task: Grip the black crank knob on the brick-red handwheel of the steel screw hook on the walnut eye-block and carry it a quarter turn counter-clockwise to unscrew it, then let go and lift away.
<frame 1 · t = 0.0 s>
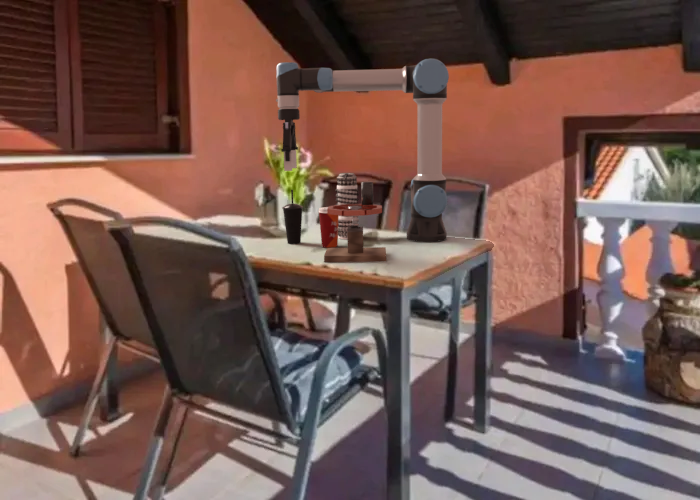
hand: (290, 169, 238), 28 cm above the table, tool pointing down, fingers open, 13 cm apart
drinking cup: (293, 243, 252), on the table
paper cup: (329, 246, 244), on the table
decorative candle: (348, 238, 261), on the table
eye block: (355, 257, 222), on the table
handwheel: (354, 206, 219), point 17 cm above the table, hinge at 0.0°
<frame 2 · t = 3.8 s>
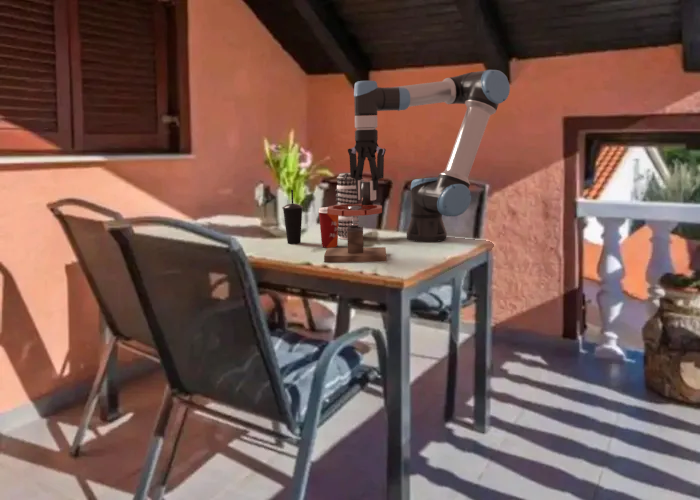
hand: (367, 199, 226), 18 cm above the table, tool pointing down, fingers closed on handwheel, 4 cm apart
handwheel: (354, 206, 219), point 17 cm above the table, hinge at 0.0°, touching gripper
everything else where it was.
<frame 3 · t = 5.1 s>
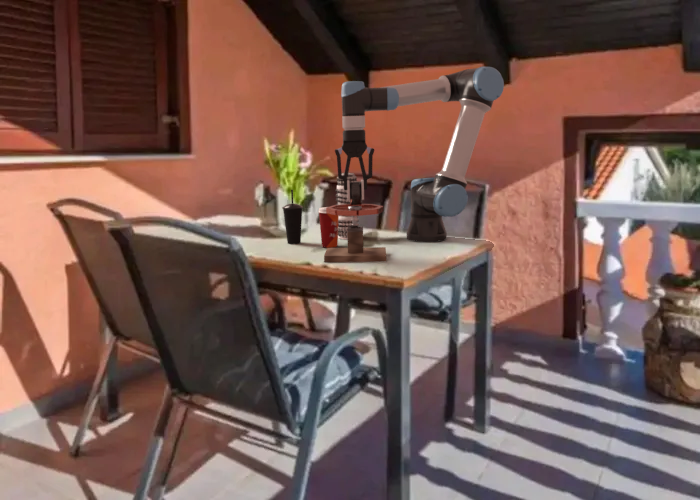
hand: (355, 199, 227), 18 cm above the table, tool pointing down, fingers closed on handwheel, 4 cm apart
handwheel: (354, 206, 219), point 17 cm above the table, hinge at 29.4°, touching gripper
everything else where it was.
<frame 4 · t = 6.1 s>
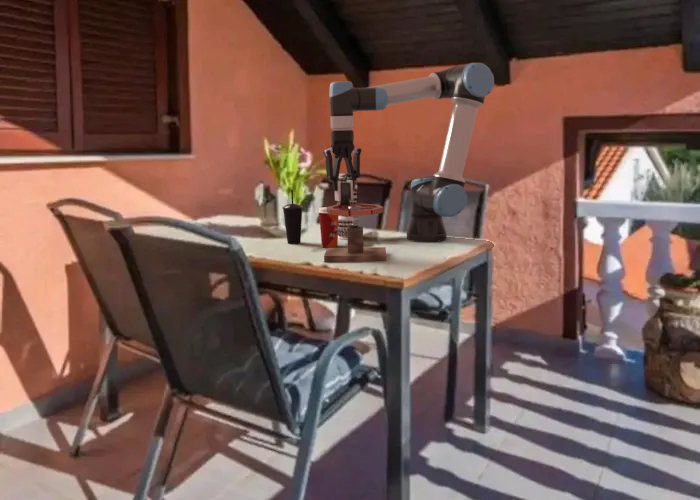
hand: (344, 199, 226), 18 cm above the table, tool pointing down, fingers closed on handwheel, 4 cm apart
handwheel: (354, 206, 219), point 17 cm above the table, hinge at 58.8°, touching gripper
everything else where it was.
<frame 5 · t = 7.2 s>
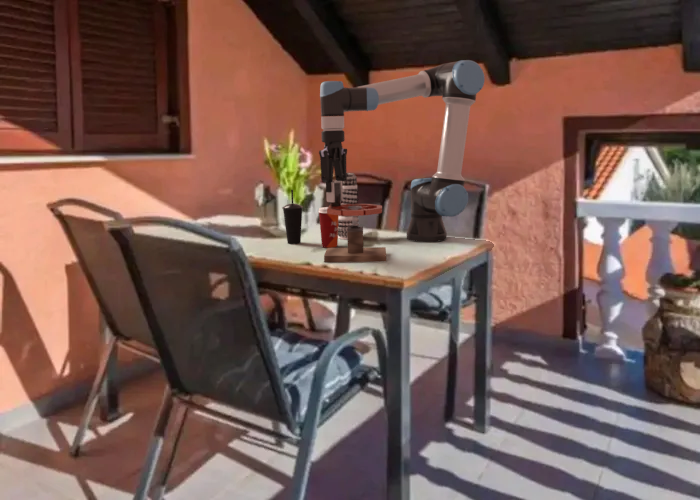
hand: (334, 201, 223), 18 cm above the table, tool pointing down, fingers closed on handwheel, 4 cm apart
handwheel: (354, 206, 219), point 17 cm above the table, hinge at 88.0°, touching gripper
everything else where it was.
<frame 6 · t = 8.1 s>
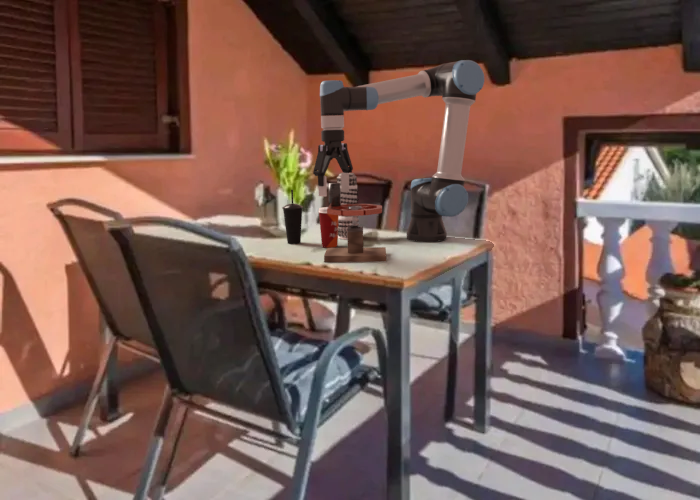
hand: (334, 194, 223), 21 cm above the table, tool pointing down, fingers open, 13 cm apart
handwheel: (354, 206, 219), point 17 cm above the table, hinge at 88.0°
everything else where it was.
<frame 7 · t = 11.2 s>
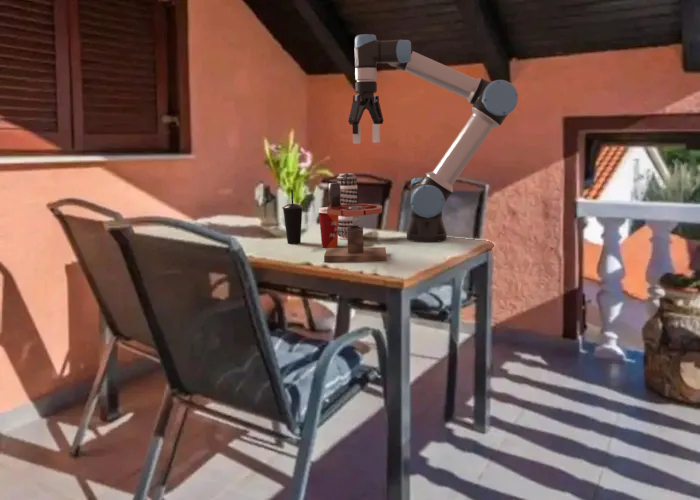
hand: (366, 143, 237), 37 cm above the table, tool pointing down, fingers open, 13 cm apart
nothing on the table moved.
at the end: handwheel at +88° (first picture: +0°); the gripper is holding nothing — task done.
